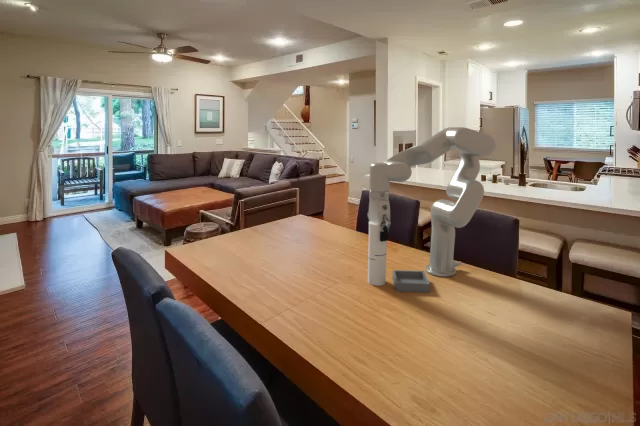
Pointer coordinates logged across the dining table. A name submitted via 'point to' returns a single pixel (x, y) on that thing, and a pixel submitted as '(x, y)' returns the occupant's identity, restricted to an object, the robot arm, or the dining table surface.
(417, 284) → the tray
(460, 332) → the dining table surface
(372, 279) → the cylindrical container
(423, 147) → the robot arm
